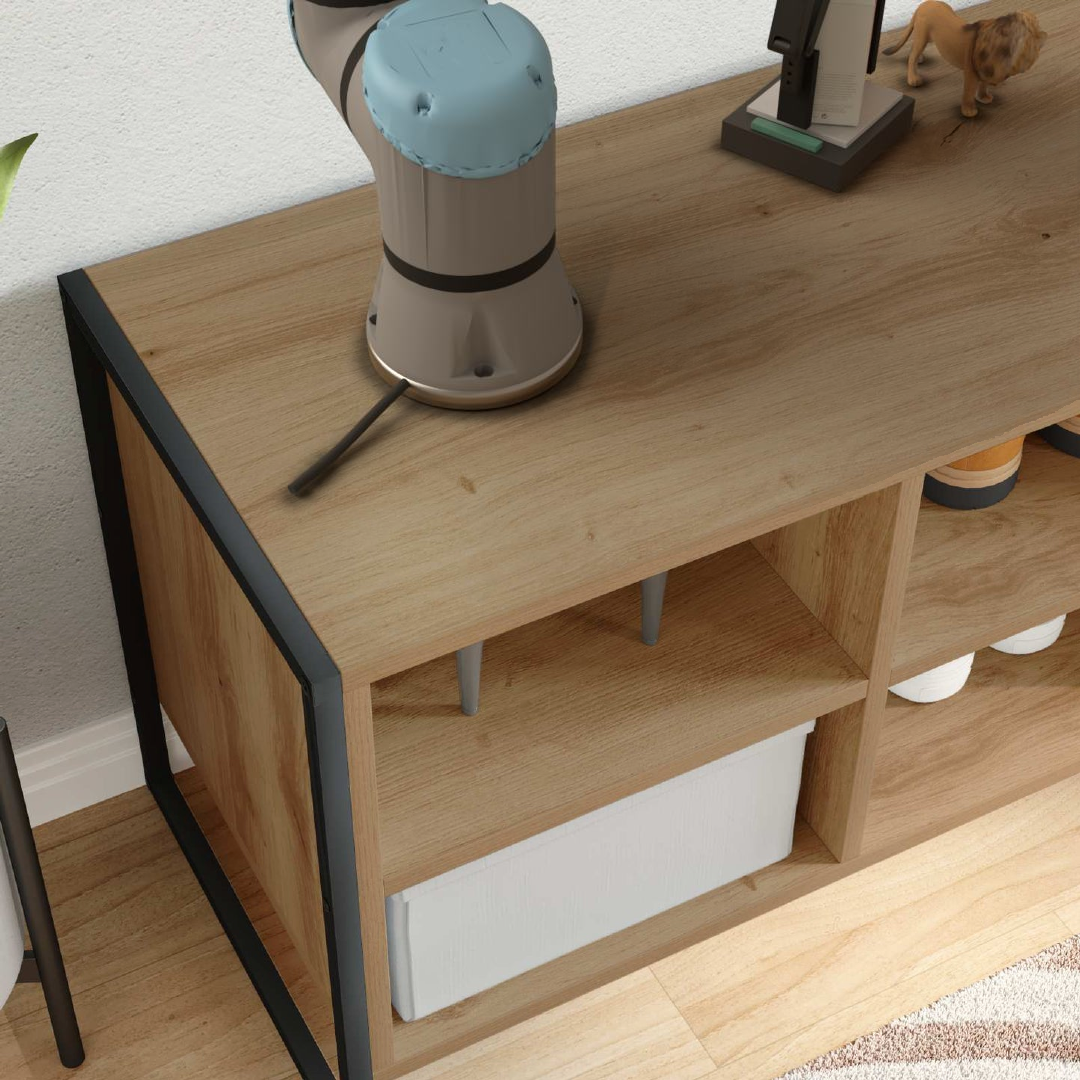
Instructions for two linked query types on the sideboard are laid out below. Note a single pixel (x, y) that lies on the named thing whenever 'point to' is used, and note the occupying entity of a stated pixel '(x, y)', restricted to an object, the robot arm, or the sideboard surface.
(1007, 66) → the lion figurine
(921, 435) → the sideboard surface
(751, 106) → the scale
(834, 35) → the small box
